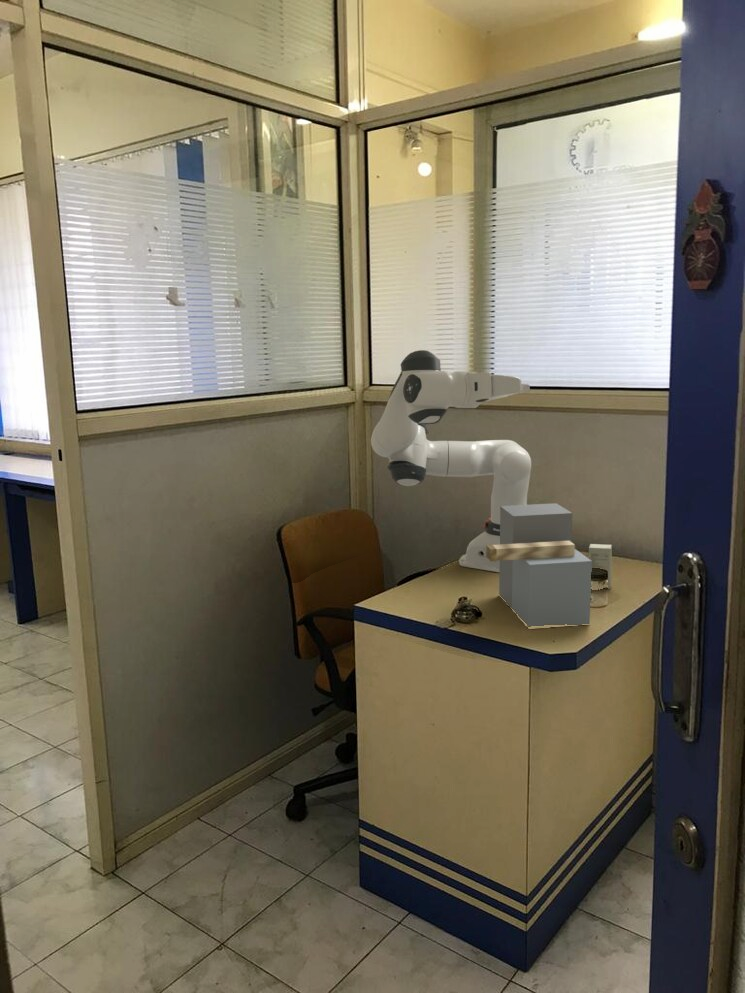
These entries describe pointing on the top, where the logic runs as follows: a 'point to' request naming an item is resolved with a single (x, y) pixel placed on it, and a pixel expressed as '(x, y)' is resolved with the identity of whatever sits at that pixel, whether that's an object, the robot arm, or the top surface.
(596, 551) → the skincare box
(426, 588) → the top surface
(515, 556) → the birch bar
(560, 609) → the stepped stand
